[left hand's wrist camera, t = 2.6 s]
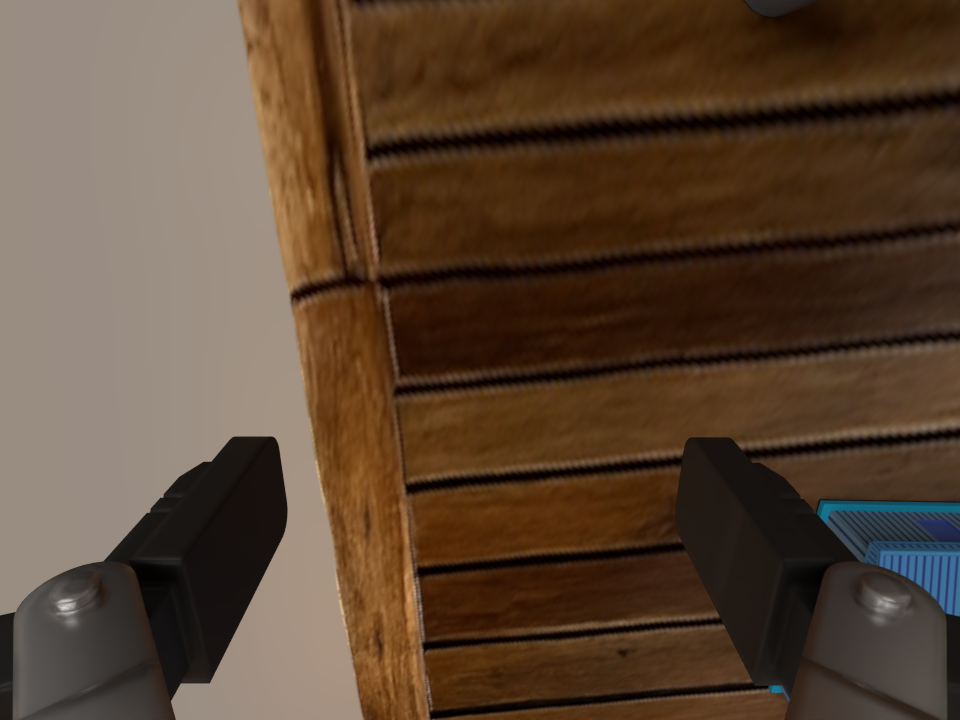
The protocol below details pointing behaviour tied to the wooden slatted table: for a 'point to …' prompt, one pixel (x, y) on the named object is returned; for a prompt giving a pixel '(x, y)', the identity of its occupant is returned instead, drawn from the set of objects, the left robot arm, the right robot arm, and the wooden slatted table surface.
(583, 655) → the wooden slatted table surface
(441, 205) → the wooden slatted table surface
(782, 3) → the bottle
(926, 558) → the model building
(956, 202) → the wooden slatted table surface
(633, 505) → the wooden slatted table surface
